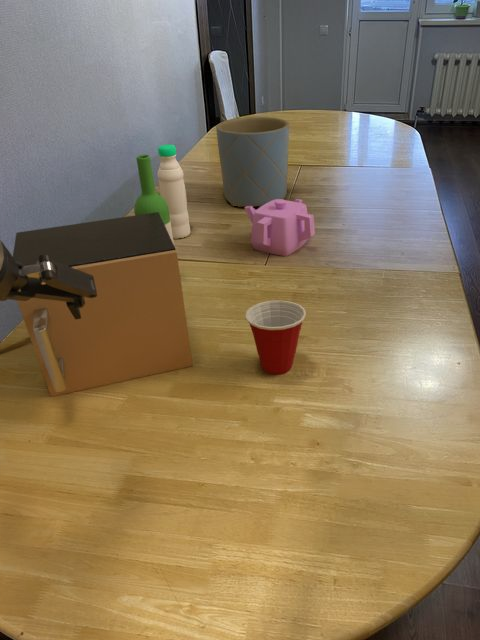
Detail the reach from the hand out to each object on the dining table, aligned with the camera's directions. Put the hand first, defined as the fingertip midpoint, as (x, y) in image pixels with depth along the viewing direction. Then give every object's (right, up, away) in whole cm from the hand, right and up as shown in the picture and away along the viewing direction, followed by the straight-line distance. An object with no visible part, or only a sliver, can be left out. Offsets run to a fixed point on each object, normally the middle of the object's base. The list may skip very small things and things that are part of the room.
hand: (21, 319), depth 66 cm
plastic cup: (+34, -7, +33) cm, 47 cm away
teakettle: (+36, +26, +78) cm, 90 cm away
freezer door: (+6, -11, +28) cm, 31 cm away
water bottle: (+6, +30, +86) cm, 91 cm away
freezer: (+2, -4, +38) cm, 38 cm away
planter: (+29, +47, +109) cm, 122 cm away
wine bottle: (+6, +13, +62) cm, 64 cm away
